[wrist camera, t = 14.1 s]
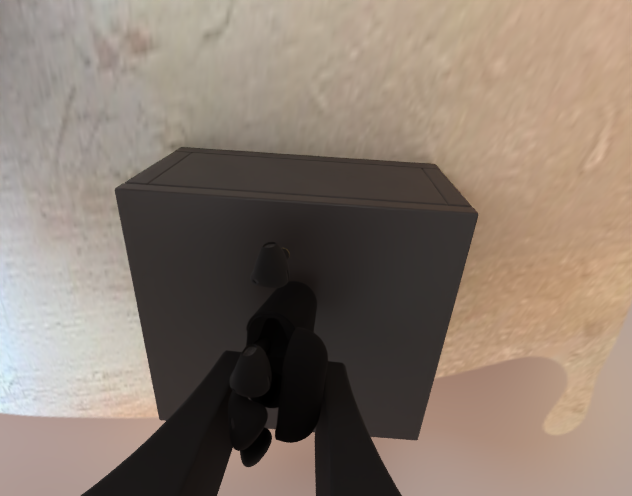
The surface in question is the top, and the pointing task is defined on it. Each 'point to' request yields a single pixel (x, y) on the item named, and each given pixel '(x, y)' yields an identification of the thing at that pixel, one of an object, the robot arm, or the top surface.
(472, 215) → the case lid
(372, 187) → the case
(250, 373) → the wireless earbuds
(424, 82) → the top surface
